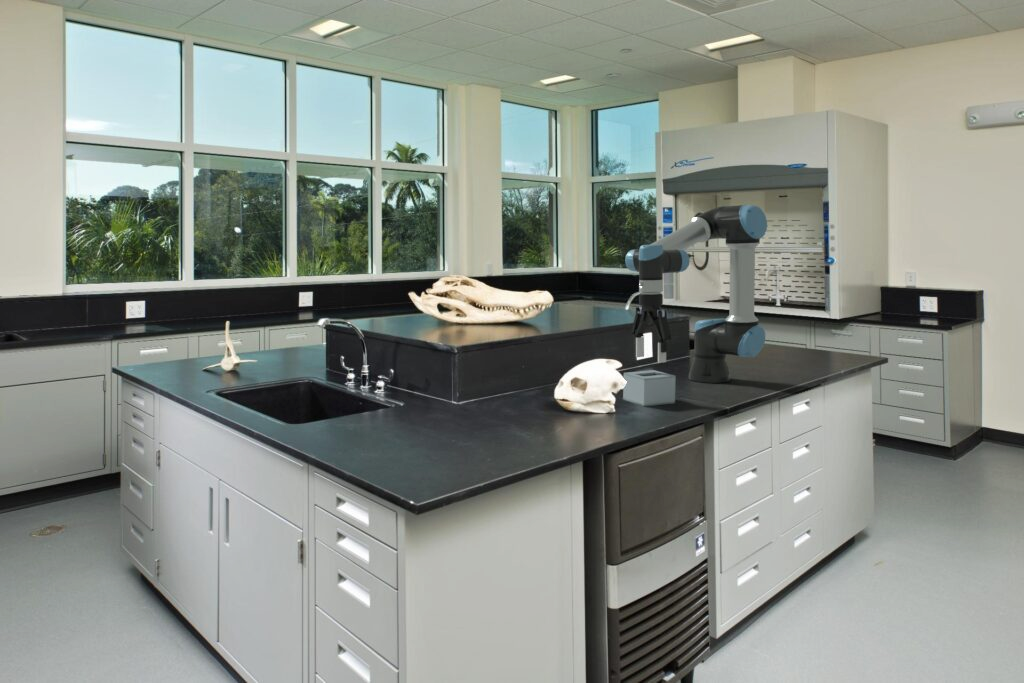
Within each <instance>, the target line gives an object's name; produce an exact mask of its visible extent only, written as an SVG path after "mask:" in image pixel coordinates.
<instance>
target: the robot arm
mask: <svg viewBox="0 0 1024 683" xmlns="http://www.w3.org/2000/svg"><path fill="white" fill-rule="evenodd" d="M767 220H768V219H767V216H766V213H765V212H764V211H763V209H762V208H761V207H759V205H754V204H753V205H752V204H743V205H741V204H740V205H725V206H724V205H722V206H717V207H714V208H711V209H709V210H707V211H704V212H703V213H700V214H699V215H696V216H695V217H692V218H691V220H689V222H688V224H686V225H684V226H682V227H681V228H678V229H676V230H674V231H673V232H671V233H669V234H667V235H665V236H664V237H663V236H662V237H661V238H660V239H658V240H656V241H654V242H652V243H650V244H643V245H640V247H639V249H638V248H636V249H631V250H629V251H628V252H627V254H626V255H625V258H624V259H625V260H624V262H625V266H626V268H627V269H628V270H629V271H631V272H637V273H638V281H639V282H638V283H639V284H638V291H639V294H638V305H640V306H637V307H636V306H635V315H634V320H633V324H632V326H631V327H632V328H631V335H632V336H634V337H635V358H643V357H645V335H644V334H645V330H646V328H647V326H648V324H649V323H650V324H651V325H652V326H653V329H654V330H655V334H656V335H657V338H658V341H657V363H658V364H661V363H667V351H668V342H670V341H672V335H671V331H670V327H669V322H668V317H667V314H668V313H667V310H666V309H663V310H662V309H660V308H661V307H660V306H662V305H663V301H664V300H663V299H664V298H663V297H664V295H663V293H662V292H663V291H664V274H675V273H676V274H678V273H681V272H685V271H686V270H687V269H688V268H689V266H690V255H689V254H688V252H687V251H686V250H687V249H688V248H691V247H693V246H694V245H696V244H698V243H706V242H707V241H710V240H714V239H715V240H717V239H725V245H726V246H727V247H728V248H729V309H728V310H729V312H728V313H729V315H728V316H726V318H714V319H713V318H712V319H703V320H702V319H701V320H697V321H696V322H695V325H694V326H695V327H694V331H693V332H694V338H693V339H694V341H693V344H694V347H693V350H694V352H693V353H694V354H693V361H692V364H691V367H690V369H689V370H690V371H689V373H688V380H690V381H693V382H699V383H706V384H707V383H708V384H709V383H710V384H713V383H714V384H715V383H716V384H718V383H727V382H730V381H731V373H730V371H729V367H728V363H727V359H726V358H727V356H726V355H728V356H735V357H740V358H754V357H756V356H757V355H759V353H760V352H761V351H762V350H763V348H764V346H765V342H766V331H765V329H764V327H762V326H761V325H759V318H757V317H756V315H755V284H756V283H755V282H756V281H755V278H756V277H755V273H756V271H755V270H756V269H755V268H756V267H755V266H756V247H757V246H759V244H760V242H761V241H760V240H761V238H763V237H764V236H765V235H766V232H767V230H768V221H767Z"/></svg>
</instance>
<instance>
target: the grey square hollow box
mask: <svg viewBox="0 0 1024 683" xmlns="http://www.w3.org/2000/svg"><path fill="white" fill-rule="evenodd" d="M676 377H677V376H676V375H674V374H671V373H666V372H663V371H658V370H655V369H654V370H653V369H651V370H640V371H638V370H637V371H629V372H623V378H624V379H625V380H626V381H627V384H626V386H625V387H624V388H622V390H623V391H622V392H623V393H622V396H623V397H622V400H623V401H626V402H629V403H632V404H635V405H638V406H640V407H643V408H644V407H645V408H646V407H652V406H660V405H670V404H671V405H672V404H675V403H676V379H677V378H676Z"/></svg>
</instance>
